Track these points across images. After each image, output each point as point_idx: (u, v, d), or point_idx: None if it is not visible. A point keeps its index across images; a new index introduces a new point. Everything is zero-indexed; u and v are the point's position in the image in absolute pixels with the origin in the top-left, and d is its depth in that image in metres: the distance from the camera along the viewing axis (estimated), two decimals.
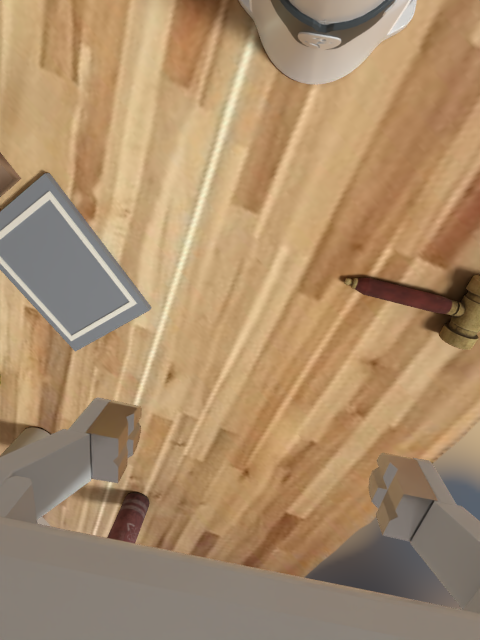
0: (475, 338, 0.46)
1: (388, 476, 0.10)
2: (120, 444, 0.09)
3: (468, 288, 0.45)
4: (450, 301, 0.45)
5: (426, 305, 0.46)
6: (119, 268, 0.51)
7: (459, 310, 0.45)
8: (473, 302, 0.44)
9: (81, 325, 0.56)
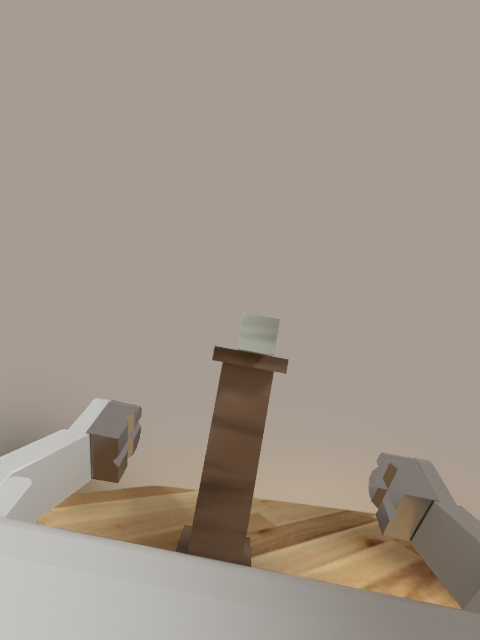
0: None
1: (388, 476, 0.10)
2: (120, 444, 0.09)
3: None
4: None
5: None
6: None
7: None
8: None
9: None
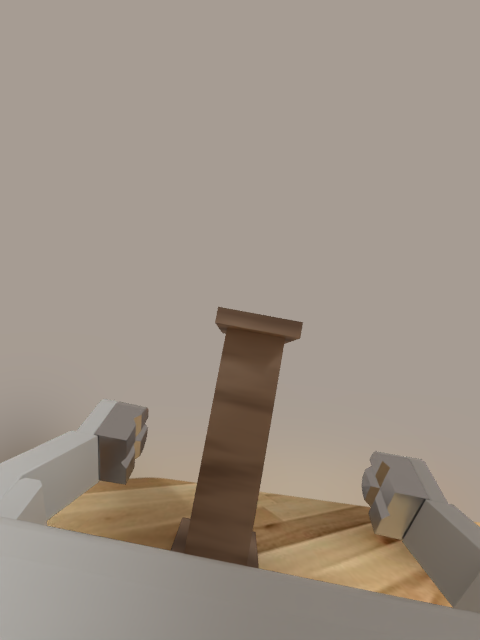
0: None
1: (380, 475, 0.10)
2: (128, 446, 0.09)
3: None
4: None
5: None
6: None
7: None
8: None
9: None
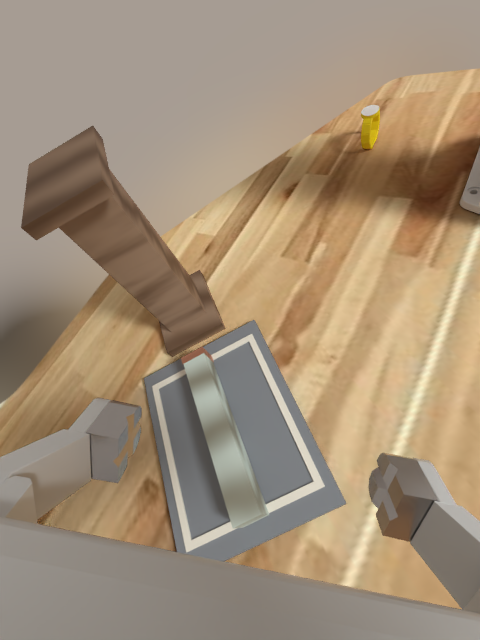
0: None
1: (388, 476, 0.10)
2: (120, 444, 0.09)
3: None
4: None
5: None
6: (307, 426, 0.36)
7: None
8: None
9: (216, 520, 0.34)
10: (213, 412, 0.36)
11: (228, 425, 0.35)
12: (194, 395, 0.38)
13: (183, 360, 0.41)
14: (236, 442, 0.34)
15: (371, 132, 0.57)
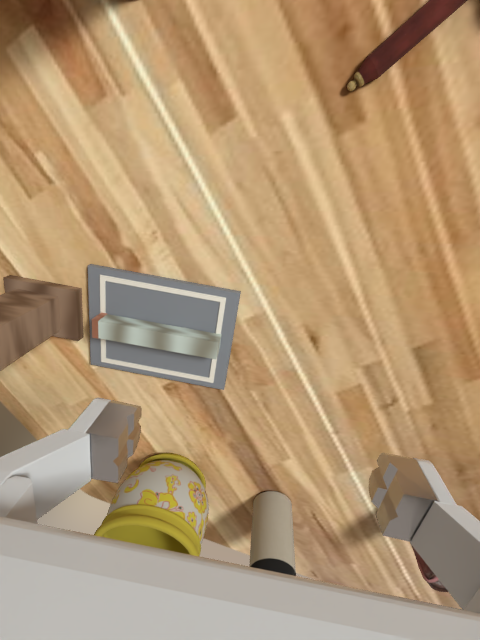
0: None
1: (388, 476, 0.10)
2: (120, 444, 0.09)
3: None
4: None
5: None
6: (189, 283, 0.49)
7: None
8: None
9: (207, 361, 0.54)
10: (147, 336, 0.50)
11: (161, 333, 0.49)
12: (128, 342, 0.50)
13: (95, 336, 0.51)
14: (174, 333, 0.49)
15: None
